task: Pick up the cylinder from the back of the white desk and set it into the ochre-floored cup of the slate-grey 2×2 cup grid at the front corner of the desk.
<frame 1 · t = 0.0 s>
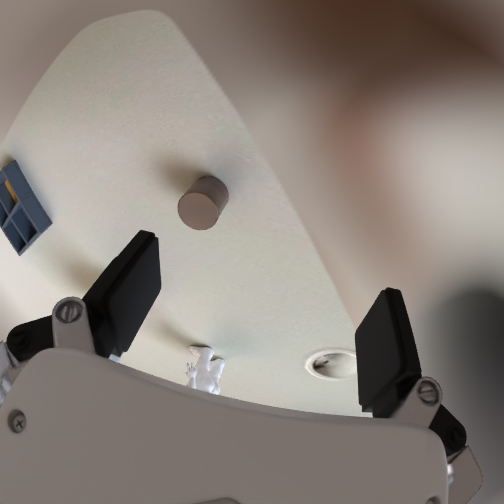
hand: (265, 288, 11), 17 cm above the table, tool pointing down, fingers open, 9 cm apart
cylinder: (210, 194, 28), on the table
toy creature: (211, 354, 46), on the table
grid: (20, 207, 35), on the table
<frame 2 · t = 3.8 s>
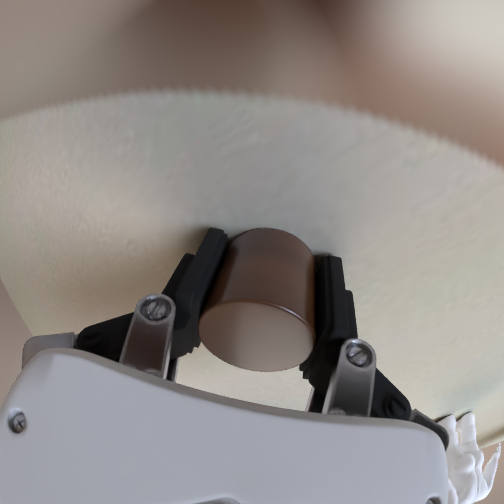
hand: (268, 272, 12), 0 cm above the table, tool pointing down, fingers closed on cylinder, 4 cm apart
cylinder: (269, 267, 12), on the table, touching gripper
toy creature: (453, 417, 21), on the table
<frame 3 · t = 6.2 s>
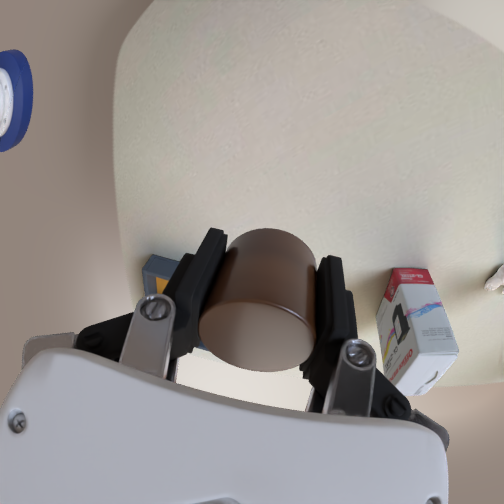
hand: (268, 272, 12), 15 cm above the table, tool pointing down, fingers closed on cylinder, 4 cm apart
cylinder: (270, 267, 12), point 15 cm above the table, touching gripper
ink box: (400, 293, 30), on the table
grid: (198, 303, 37), on the table
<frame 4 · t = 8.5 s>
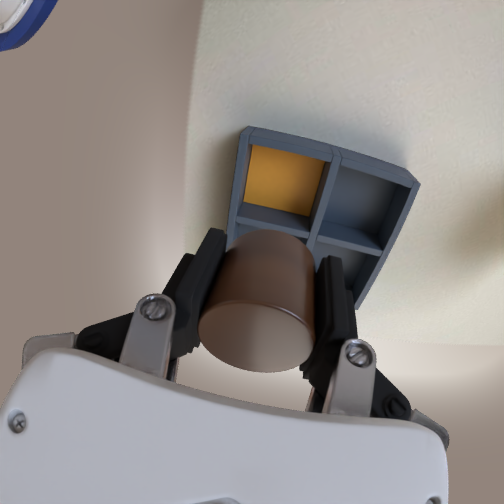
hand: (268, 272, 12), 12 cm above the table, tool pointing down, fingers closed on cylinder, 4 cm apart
cylinder: (269, 268, 12), point 11 cm above the table, touching gripper
grid: (311, 217, 23), on the table
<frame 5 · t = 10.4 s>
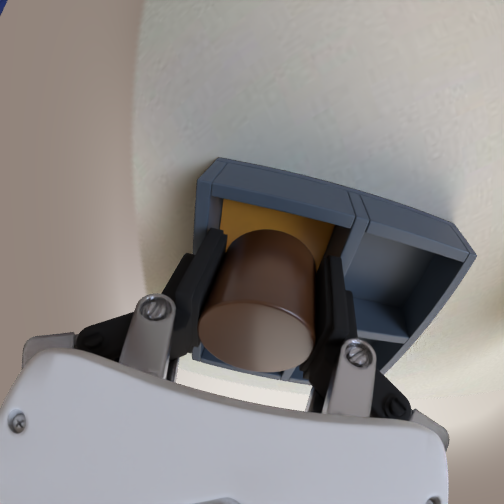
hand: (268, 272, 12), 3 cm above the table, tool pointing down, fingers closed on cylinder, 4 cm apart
cylinder: (269, 268, 12), point 3 cm above the table, touching gripper
grid: (314, 286, 16), on the table
when the fingers open (3 cm above the table, at t = 13.4 s): cylinder drops 2 cm, resting on grid.
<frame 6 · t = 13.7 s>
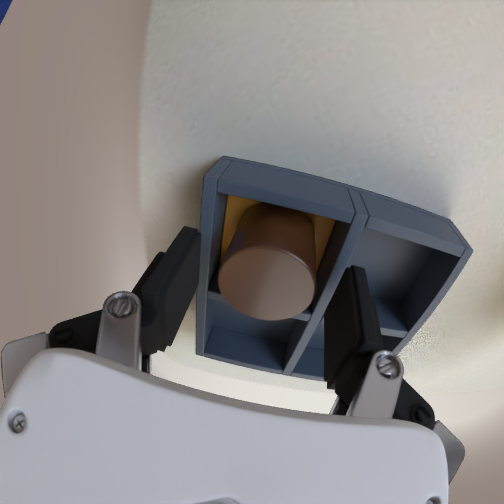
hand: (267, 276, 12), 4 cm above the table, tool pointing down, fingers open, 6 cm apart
cylinder: (275, 235, 14), point 1 cm above the table, touching grid
grid: (315, 282, 16), on the table
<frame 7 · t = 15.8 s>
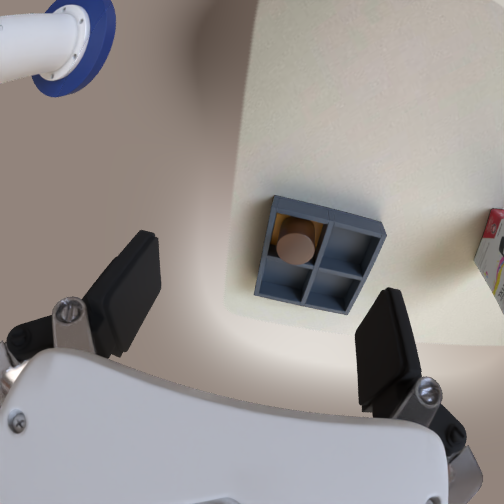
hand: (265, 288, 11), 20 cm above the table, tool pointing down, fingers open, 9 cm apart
cylinder: (297, 230, 32), point 1 cm above the table, touching grid
ink box: (493, 236, 27), on the table
grid: (315, 253, 34), on the table
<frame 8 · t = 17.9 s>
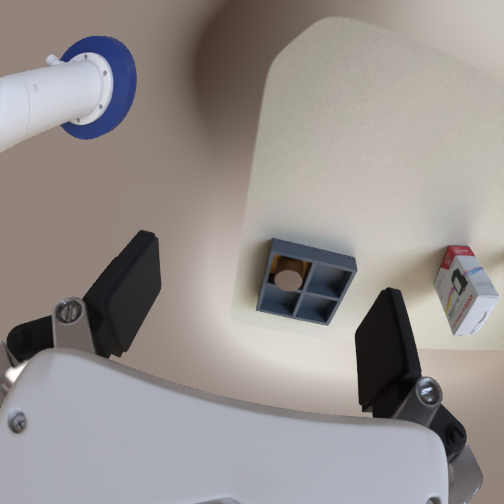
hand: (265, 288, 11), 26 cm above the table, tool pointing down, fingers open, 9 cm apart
cylinder: (290, 263, 42), point 1 cm above the table, touching grid
ink box: (451, 265, 38), on the table
grid: (303, 279, 44), on the table
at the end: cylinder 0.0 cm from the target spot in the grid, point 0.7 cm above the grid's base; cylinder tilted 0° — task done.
